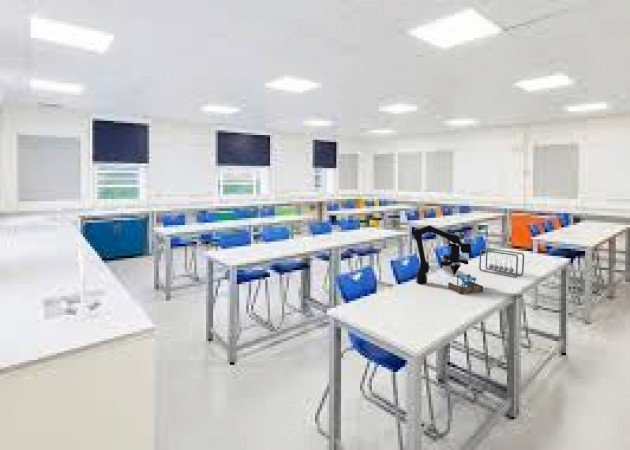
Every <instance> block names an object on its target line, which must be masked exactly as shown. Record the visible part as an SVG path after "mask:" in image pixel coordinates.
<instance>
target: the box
mask: <svg viewBox="0 0 630 450" xmlns="http://www.w3.org/2000/svg"><path fill="white" fill-rule="evenodd" d="M469 281H470V280H469ZM467 282H468V281H467ZM469 285H470V286H471V287H464V286H463V287H464V288H461V287H462V286H460V285H458V286H457V284H454V283H452V282H448V283H447V289H448V290H450V291H453V292H455V293H457V294H459V295H469V294H479V293H483V292H484V286H483V285H481V284H479V283H477V282H475V286H474V281H470V282H469ZM459 286H460V287H459Z"/></svg>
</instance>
